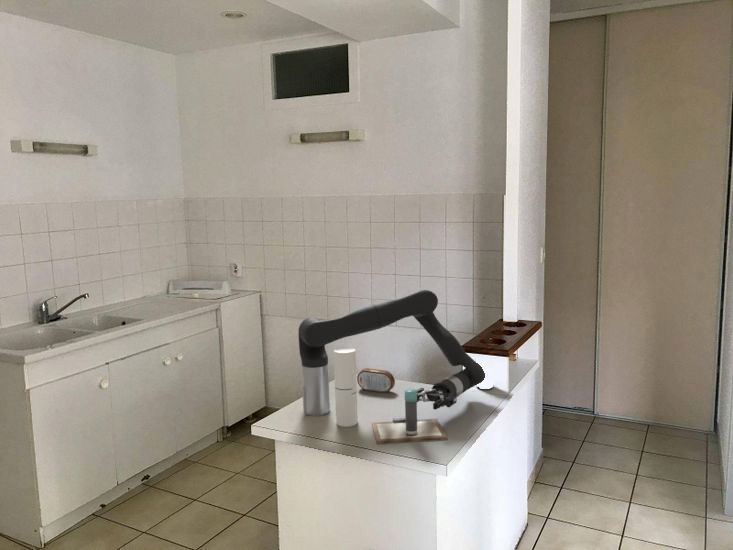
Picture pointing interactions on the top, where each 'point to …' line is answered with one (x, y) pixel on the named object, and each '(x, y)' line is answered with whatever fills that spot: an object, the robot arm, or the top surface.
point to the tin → (375, 380)
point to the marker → (411, 412)
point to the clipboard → (397, 431)
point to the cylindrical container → (345, 386)
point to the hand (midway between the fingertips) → (422, 403)
